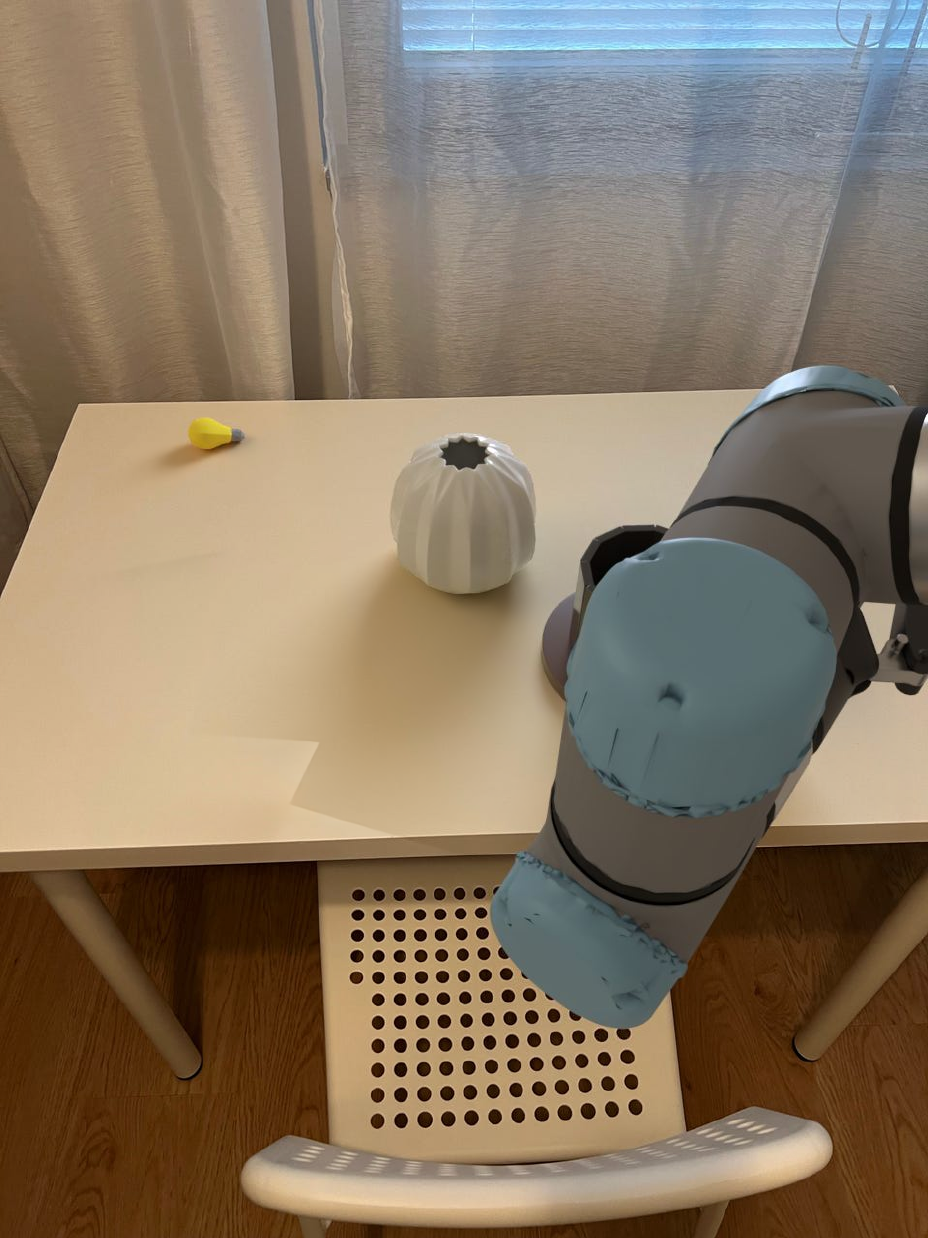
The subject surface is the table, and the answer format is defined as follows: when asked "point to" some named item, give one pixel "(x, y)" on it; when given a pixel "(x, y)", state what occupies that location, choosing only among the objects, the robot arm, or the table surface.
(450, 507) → the vase
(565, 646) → the turntable
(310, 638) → the table surface
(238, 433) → the light bulb
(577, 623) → the mug
